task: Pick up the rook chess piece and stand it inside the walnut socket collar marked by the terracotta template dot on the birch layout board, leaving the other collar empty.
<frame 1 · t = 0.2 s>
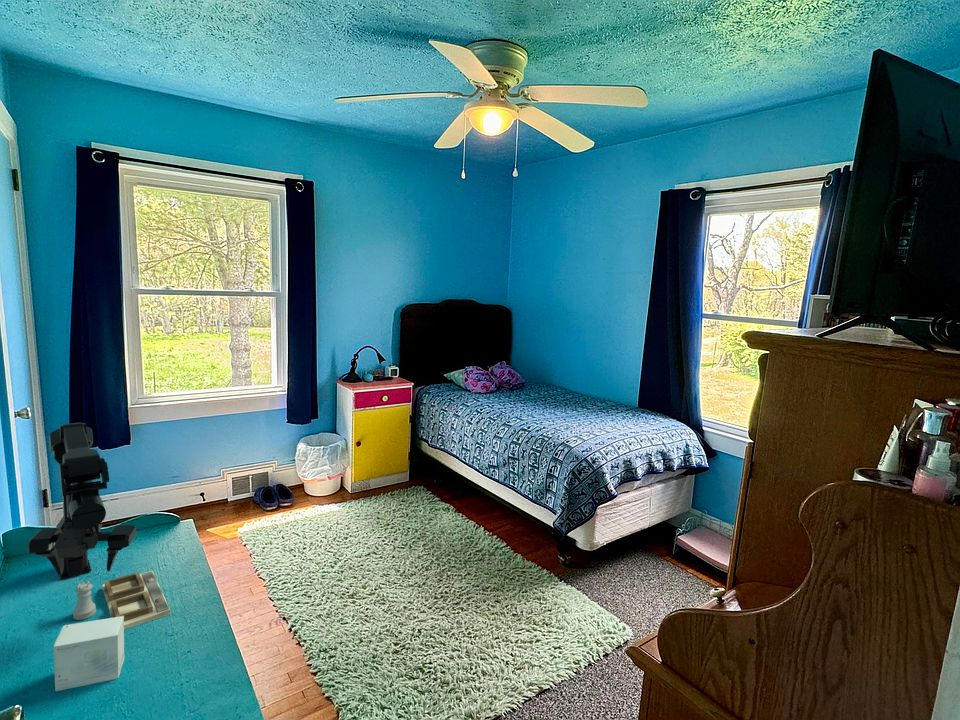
hand: (85, 572, 114), 13 cm above the table, fingers open, 9 cm apart
rook chess piece: (84, 615, 119), on the table
skincare box: (91, 675, 103), on the table
layout board: (135, 601, 125), on the table
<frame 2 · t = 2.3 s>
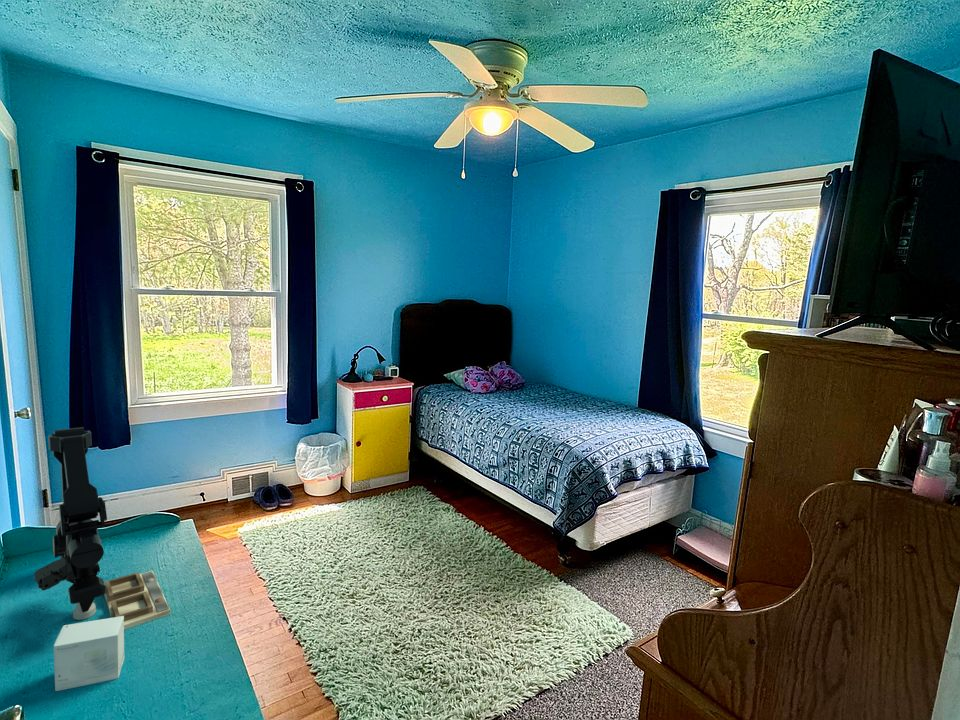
hand: (84, 607, 119), 2 cm above the table, fingers closed on rook chess piece, 3 cm apart
rook chess piece: (84, 615, 119), on the table, touching gripper
everything else where it was.
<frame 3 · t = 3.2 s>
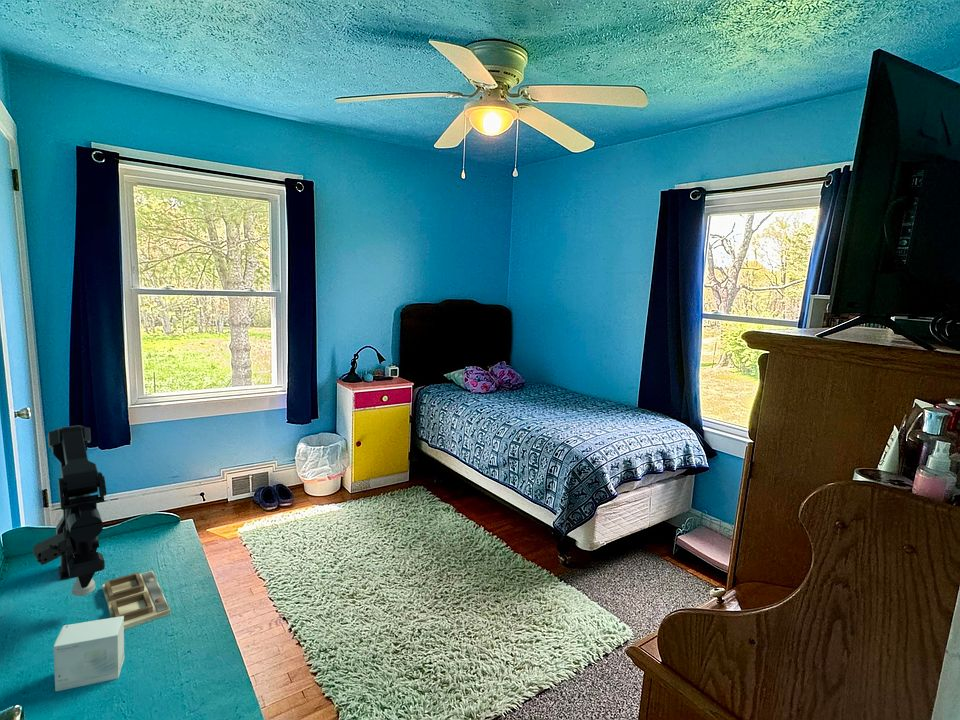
hand: (83, 583, 118), 8 cm above the table, fingers closed on rook chess piece, 3 cm apart
rook chess piece: (83, 591, 118), point 6 cm above the table, touching gripper
everything else where it was.
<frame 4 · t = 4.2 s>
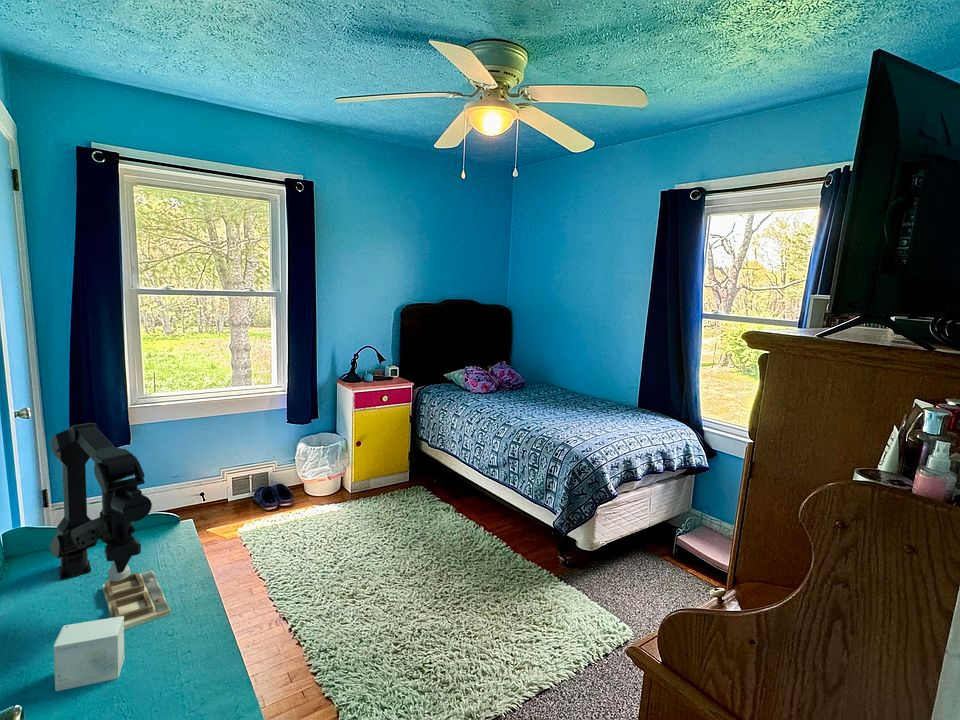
hand: (119, 568, 118), 12 cm above the table, fingers closed on rook chess piece, 3 cm apart
rook chess piece: (119, 577, 118), point 10 cm above the table, touching gripper
everything else where it was.
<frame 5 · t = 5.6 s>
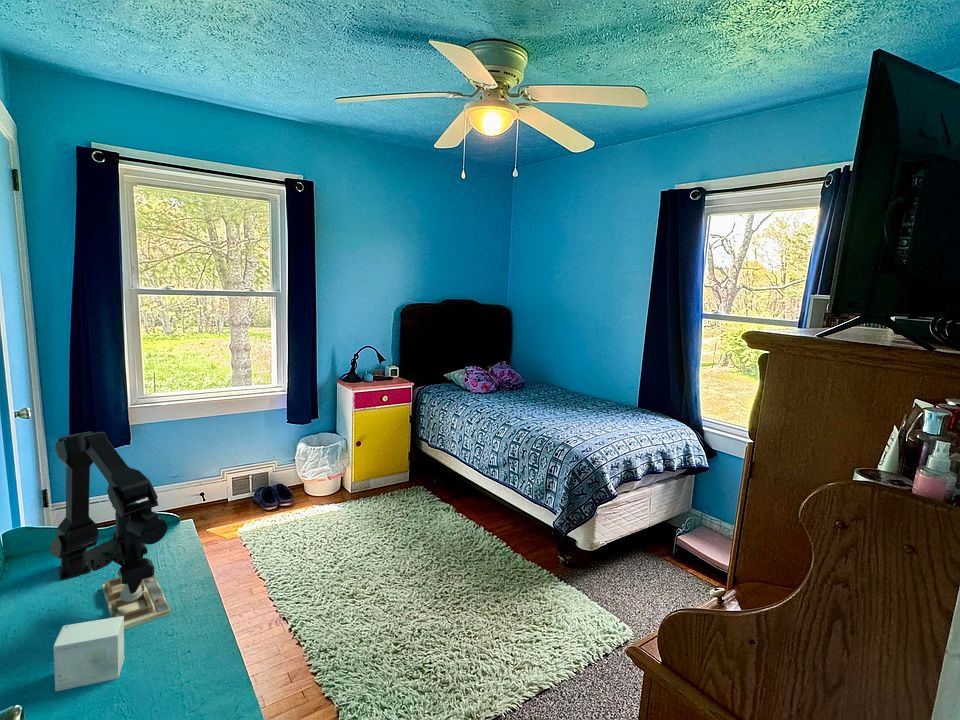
hand: (131, 588, 120), 7 cm above the table, fingers closed on rook chess piece, 3 cm apart
rook chess piece: (131, 597, 120), point 4 cm above the table, touching gripper
everything else where it was.
when the fingers open (4 cm above the table, at t = 6.7 s): rook chess piece stays where it is, resting on layout board.
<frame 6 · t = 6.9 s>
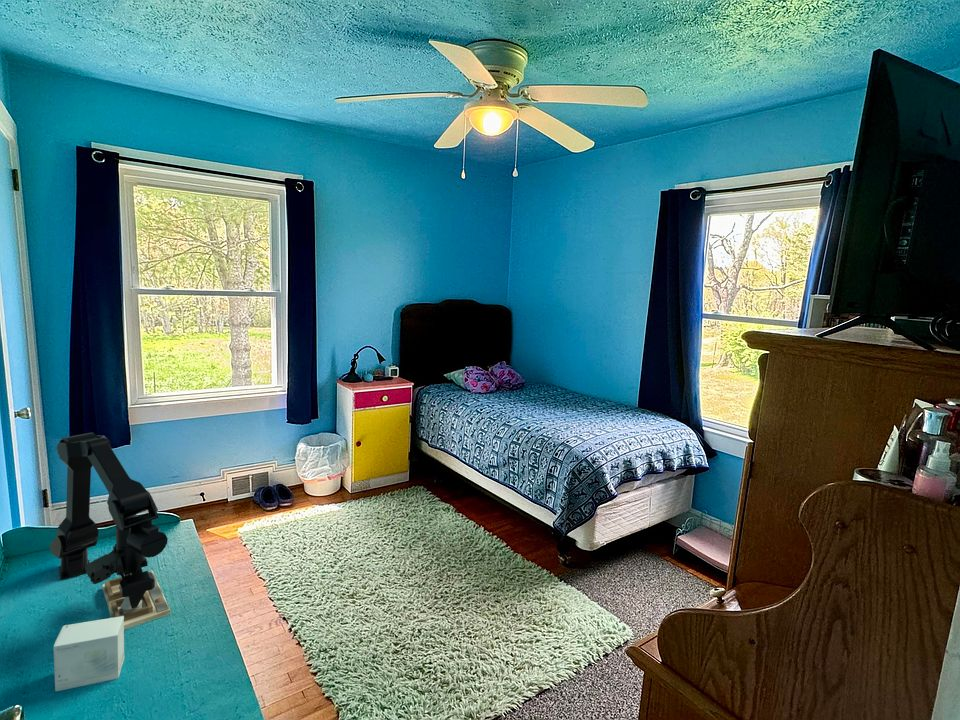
hand: (131, 600, 120), 4 cm above the table, fingers open, 6 cm apart
rook chess piece: (131, 610, 121), point 1 cm above the table, touching layout board
everything else where it was.
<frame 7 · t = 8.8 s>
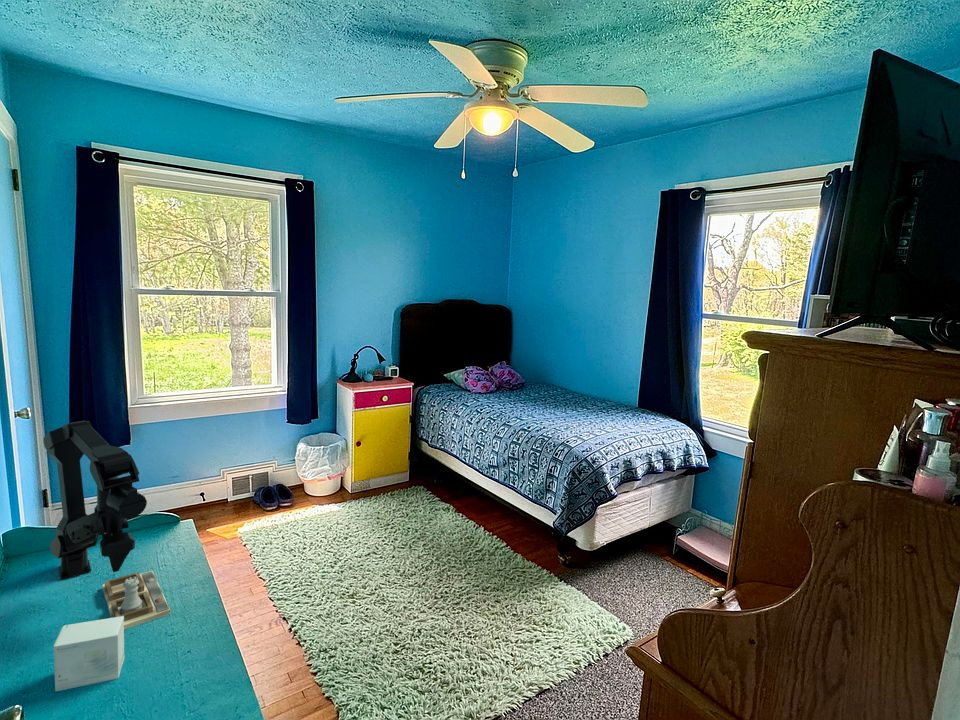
hand: (112, 561, 122), 11 cm above the table, fingers open, 9 cm apart
nothing on the table moved.
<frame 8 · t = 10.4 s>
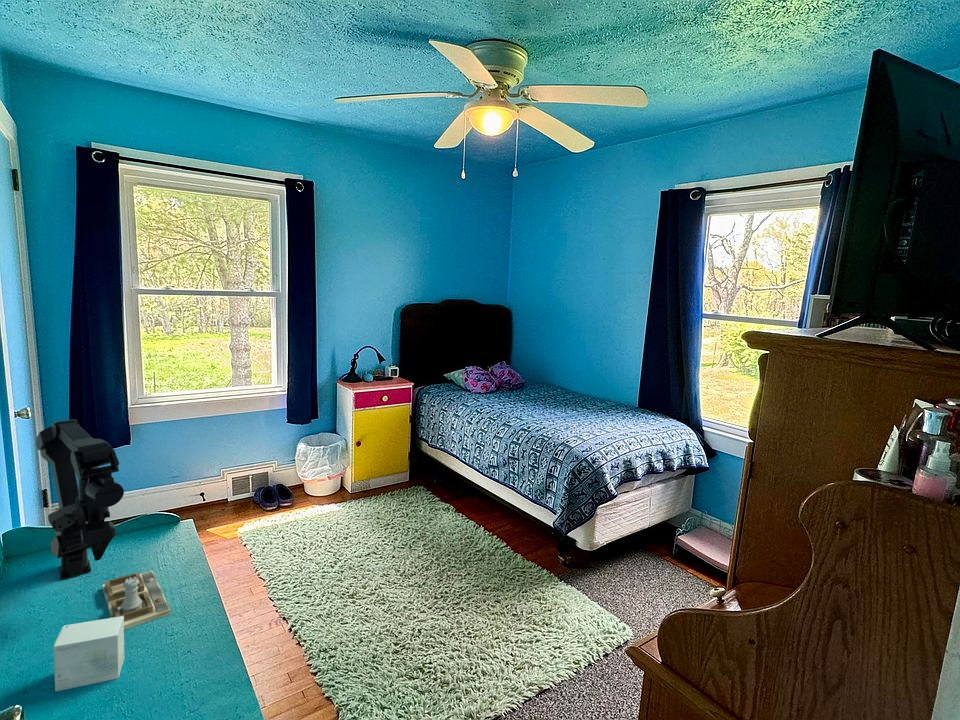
hand: (95, 551, 124), 12 cm above the table, fingers open, 9 cm apart
nothing on the table moved.
at the end: rook chess piece 0.1 cm from the target spot on the layout board, point 1.0 cm above the layout board's base; rook chess piece tilted 0°; the gripper is holding nothing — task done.
